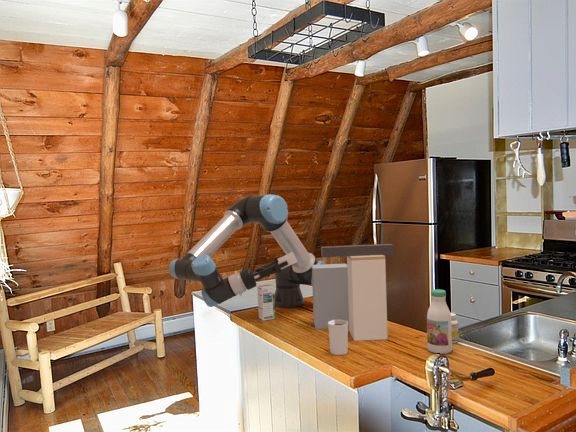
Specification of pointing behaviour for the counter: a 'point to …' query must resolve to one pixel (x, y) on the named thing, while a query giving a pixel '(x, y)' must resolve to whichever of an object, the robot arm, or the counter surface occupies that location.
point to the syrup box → (266, 302)
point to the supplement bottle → (454, 328)
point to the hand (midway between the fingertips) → (295, 256)
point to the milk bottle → (439, 324)
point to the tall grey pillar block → (330, 294)
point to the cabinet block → (367, 297)
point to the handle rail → (357, 250)
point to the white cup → (338, 336)
